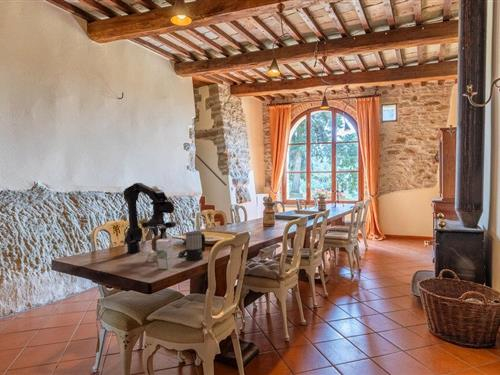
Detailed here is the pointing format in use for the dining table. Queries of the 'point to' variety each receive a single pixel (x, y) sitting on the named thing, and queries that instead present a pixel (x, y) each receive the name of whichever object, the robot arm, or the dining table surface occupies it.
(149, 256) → the pale block
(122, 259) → the dining table surface
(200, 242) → the milk frother
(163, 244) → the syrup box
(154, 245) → the tin
